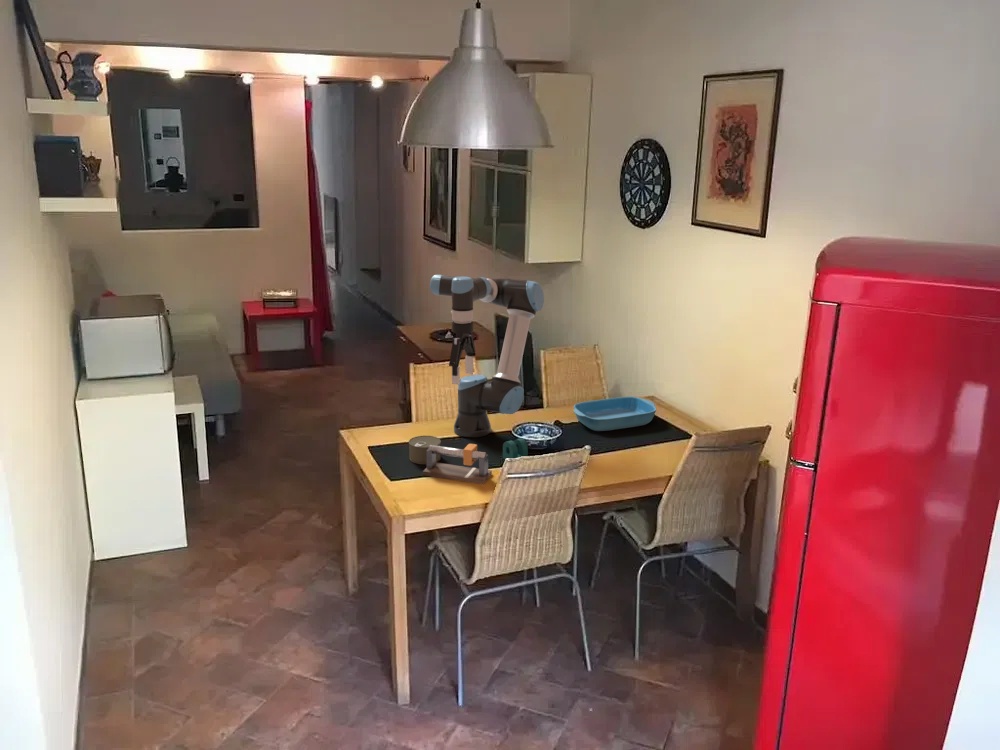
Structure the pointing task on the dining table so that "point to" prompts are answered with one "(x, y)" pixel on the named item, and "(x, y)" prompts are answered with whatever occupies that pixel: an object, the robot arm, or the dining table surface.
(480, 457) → the pipe stand
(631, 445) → the dining table surface
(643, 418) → the casserole dish
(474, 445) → the collar
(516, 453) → the bracket
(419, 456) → the can
